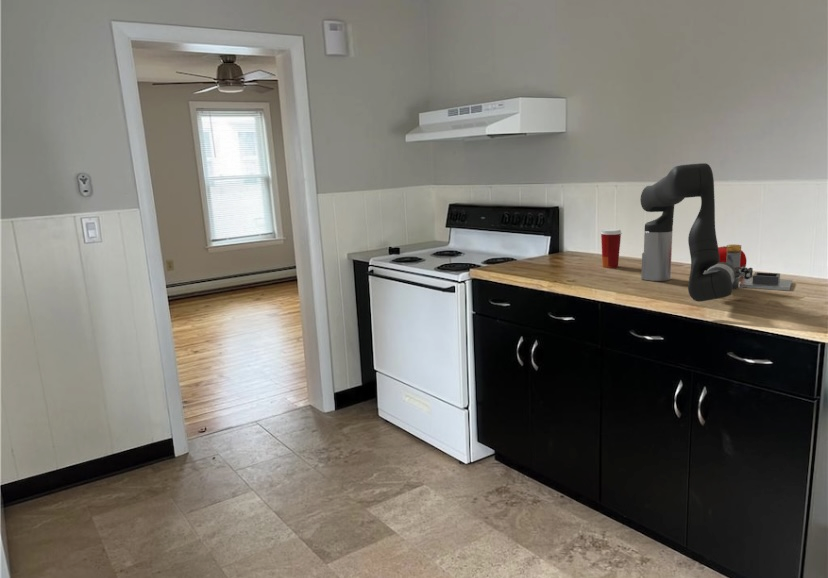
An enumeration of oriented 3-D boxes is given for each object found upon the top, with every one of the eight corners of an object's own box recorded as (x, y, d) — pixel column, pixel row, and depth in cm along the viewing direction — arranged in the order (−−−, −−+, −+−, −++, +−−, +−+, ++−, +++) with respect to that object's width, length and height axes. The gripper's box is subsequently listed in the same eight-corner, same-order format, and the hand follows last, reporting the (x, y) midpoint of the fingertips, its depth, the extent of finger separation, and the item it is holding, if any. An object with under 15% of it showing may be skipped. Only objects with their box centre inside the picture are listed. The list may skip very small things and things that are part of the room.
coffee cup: (623, 265, 249) (624, 229, 246) (617, 268, 242) (618, 231, 239) (602, 264, 253) (603, 228, 251) (596, 267, 247) (597, 230, 244)
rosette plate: (739, 287, 199) (739, 276, 198) (744, 279, 210) (745, 270, 209) (789, 290, 191) (790, 279, 190) (792, 282, 202) (793, 272, 202)
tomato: (750, 278, 212) (752, 247, 210) (709, 279, 214) (711, 248, 212) (739, 273, 223) (741, 243, 221) (701, 273, 226) (702, 243, 224)
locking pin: (723, 288, 198) (726, 245, 195) (725, 286, 201) (728, 244, 198) (737, 289, 196) (740, 246, 193) (739, 287, 199) (742, 244, 196)
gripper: (748, 265, 170) (755, 257, 183) (693, 262, 178) (703, 255, 191) (747, 291, 171) (753, 282, 184) (692, 287, 179) (702, 279, 192)
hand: (728, 268), depth 188 cm, fingers open, 8 cm apart
